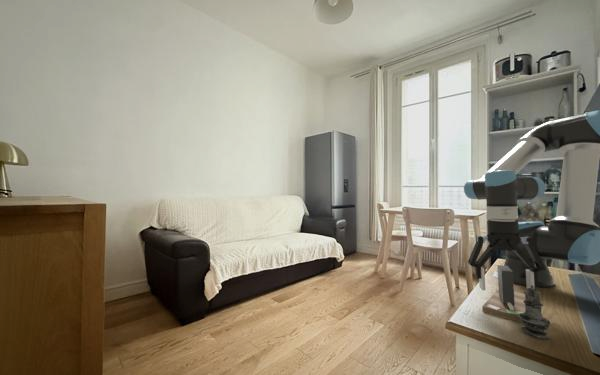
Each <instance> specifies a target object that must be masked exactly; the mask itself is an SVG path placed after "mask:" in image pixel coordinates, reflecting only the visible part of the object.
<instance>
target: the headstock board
mask: <svg viewBox="0 0 600 375" xmlns="http://www.w3.org/2000/svg"><path fill="white" fill-rule="evenodd" d="M514 301H515V306H514V305H512V306H513V307H514V310H512V311H519V312H523V313H525V303H524V302H523V301H525V293H521V292H518V291H517V292H516V291H514ZM487 305H493V306H496V307H499V308H501V309H499V310H494V309H491V308H489V307H486V306H487ZM481 309H482V312H483V313H488V314H490V315H495V316H498V317H502V318H505V319H507V320H508V319H509V320H512V321H516V322H519V323H522V322H521V320H520V318H519V316H518V315H515V314H508V313H507V311H506V310H510V308H509V306H508V305H507V304H503V302H501V299H500V297H499V288H497V290H496V291H495V292H494V293H493V294H492V295H491V296H490V297H489V298H488V299H487V300H486V302H484V304H483V305H482V308H481Z"/></svg>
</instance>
